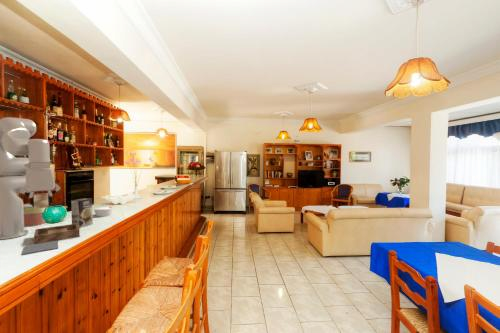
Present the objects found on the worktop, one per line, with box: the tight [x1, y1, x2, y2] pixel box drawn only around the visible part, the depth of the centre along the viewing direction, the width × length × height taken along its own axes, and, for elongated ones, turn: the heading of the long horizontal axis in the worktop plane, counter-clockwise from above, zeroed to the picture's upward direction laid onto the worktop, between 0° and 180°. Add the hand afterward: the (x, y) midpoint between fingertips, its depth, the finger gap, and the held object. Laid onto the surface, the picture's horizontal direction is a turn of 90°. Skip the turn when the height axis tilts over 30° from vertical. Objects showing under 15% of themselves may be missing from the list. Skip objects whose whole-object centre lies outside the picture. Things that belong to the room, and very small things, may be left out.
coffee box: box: [71, 197, 94, 229], centre depth 150 cm, size 9×6×16 cm
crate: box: [33, 223, 81, 245], centre depth 130 cm, size 18×14×4 cm
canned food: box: [23, 203, 47, 228], centre depth 154 cm, size 11×11×12 cm
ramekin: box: [93, 206, 113, 218], centre depth 177 cm, size 11×11×5 cm
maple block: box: [33, 192, 50, 209], centre depth 114 cm, size 5×5×6 cm
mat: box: [22, 240, 59, 256], centre depth 115 cm, size 12×12×1 cm
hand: (41, 205), depth 115 cm, fingers closed on maple block, 5 cm apart
